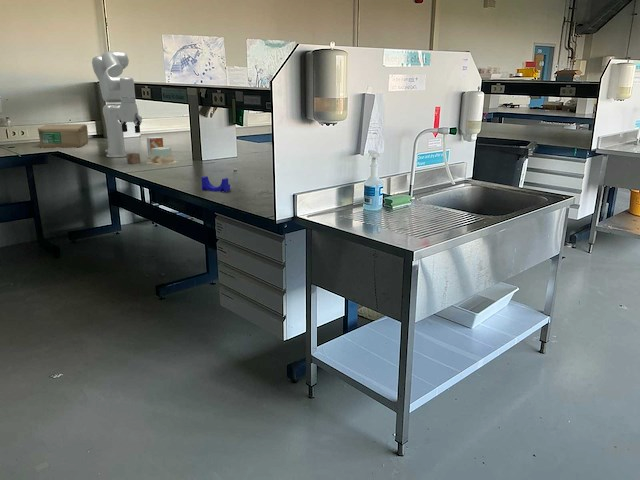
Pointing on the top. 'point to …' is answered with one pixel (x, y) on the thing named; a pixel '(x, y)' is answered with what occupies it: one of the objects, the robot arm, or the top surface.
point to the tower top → (161, 151)
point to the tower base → (161, 159)
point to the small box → (153, 143)
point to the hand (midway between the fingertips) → (131, 132)
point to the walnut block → (133, 158)
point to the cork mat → (163, 164)
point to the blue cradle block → (208, 186)
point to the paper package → (63, 135)
